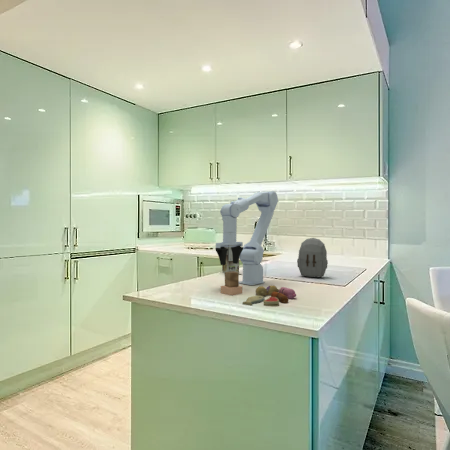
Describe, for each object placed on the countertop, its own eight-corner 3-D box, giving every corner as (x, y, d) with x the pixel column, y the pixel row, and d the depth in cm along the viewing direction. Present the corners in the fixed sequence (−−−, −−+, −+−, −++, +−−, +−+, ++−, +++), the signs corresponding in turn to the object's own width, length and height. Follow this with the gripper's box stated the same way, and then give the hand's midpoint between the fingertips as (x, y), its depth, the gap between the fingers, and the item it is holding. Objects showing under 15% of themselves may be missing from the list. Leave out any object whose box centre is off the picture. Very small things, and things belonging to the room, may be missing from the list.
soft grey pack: (328, 277, 179) (329, 238, 178) (325, 279, 171) (326, 238, 171) (298, 274, 185) (299, 236, 185) (295, 277, 177) (295, 237, 177)
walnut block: (233, 284, 141) (233, 271, 141) (238, 286, 138) (238, 272, 138) (224, 285, 140) (224, 271, 139) (229, 287, 136) (229, 273, 136)
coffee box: (239, 274, 184) (239, 243, 184) (228, 275, 182) (228, 243, 181) (232, 271, 193) (233, 242, 192) (221, 272, 190) (222, 242, 190)
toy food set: (260, 291, 145) (260, 281, 145) (300, 295, 139) (300, 285, 139) (241, 306, 121) (241, 294, 121) (288, 311, 115) (289, 298, 115)
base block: (231, 291, 143) (231, 284, 143) (242, 293, 139) (242, 286, 139) (220, 293, 139) (220, 286, 139) (231, 296, 135) (231, 288, 134)
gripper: (234, 231, 157) (234, 261, 157) (210, 232, 146) (210, 264, 147) (246, 232, 152) (245, 263, 152) (222, 232, 142) (222, 266, 142)
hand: (229, 264), depth 149 cm, fingers open, 7 cm apart
